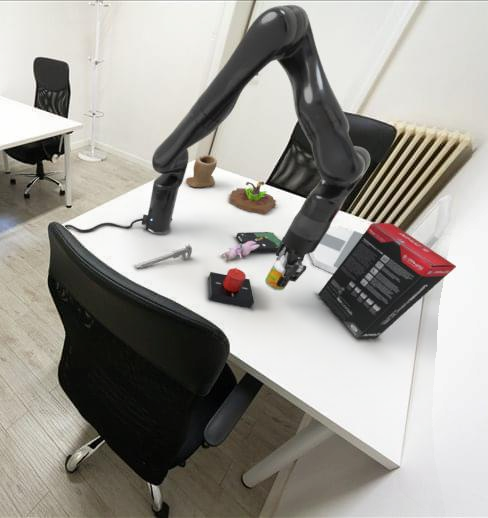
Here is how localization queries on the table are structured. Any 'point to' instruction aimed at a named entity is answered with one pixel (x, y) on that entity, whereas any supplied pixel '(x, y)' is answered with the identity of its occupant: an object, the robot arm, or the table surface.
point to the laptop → (343, 239)
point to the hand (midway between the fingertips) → (277, 278)
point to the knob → (234, 280)
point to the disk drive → (260, 241)
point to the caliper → (169, 256)
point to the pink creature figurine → (241, 250)
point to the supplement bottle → (276, 274)
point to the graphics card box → (382, 279)
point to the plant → (252, 199)
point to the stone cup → (203, 172)
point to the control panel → (229, 292)
